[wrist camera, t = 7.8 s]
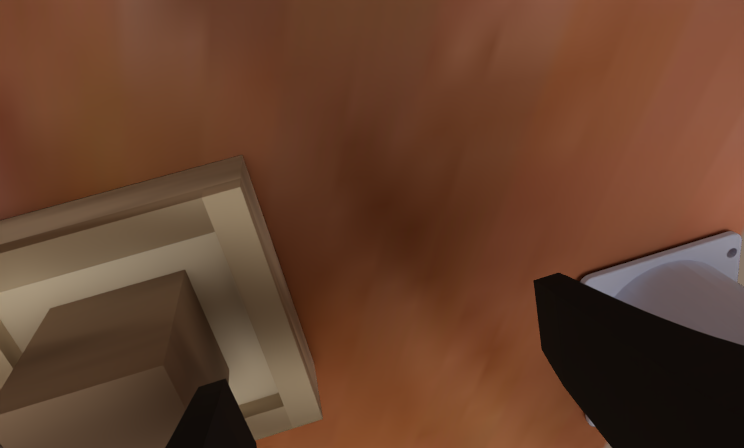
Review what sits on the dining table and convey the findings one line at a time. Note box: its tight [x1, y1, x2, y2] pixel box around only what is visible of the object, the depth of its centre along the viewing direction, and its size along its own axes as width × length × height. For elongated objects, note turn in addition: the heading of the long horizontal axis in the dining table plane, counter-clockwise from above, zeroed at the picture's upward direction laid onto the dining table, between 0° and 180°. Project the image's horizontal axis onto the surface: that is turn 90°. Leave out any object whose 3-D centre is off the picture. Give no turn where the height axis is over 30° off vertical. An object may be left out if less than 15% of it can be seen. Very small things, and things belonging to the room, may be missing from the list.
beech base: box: [0, 155, 323, 440], centre depth 20 cm, size 10×10×3 cm
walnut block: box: [0, 270, 229, 448], centre depth 17 cm, size 4×4×5 cm
